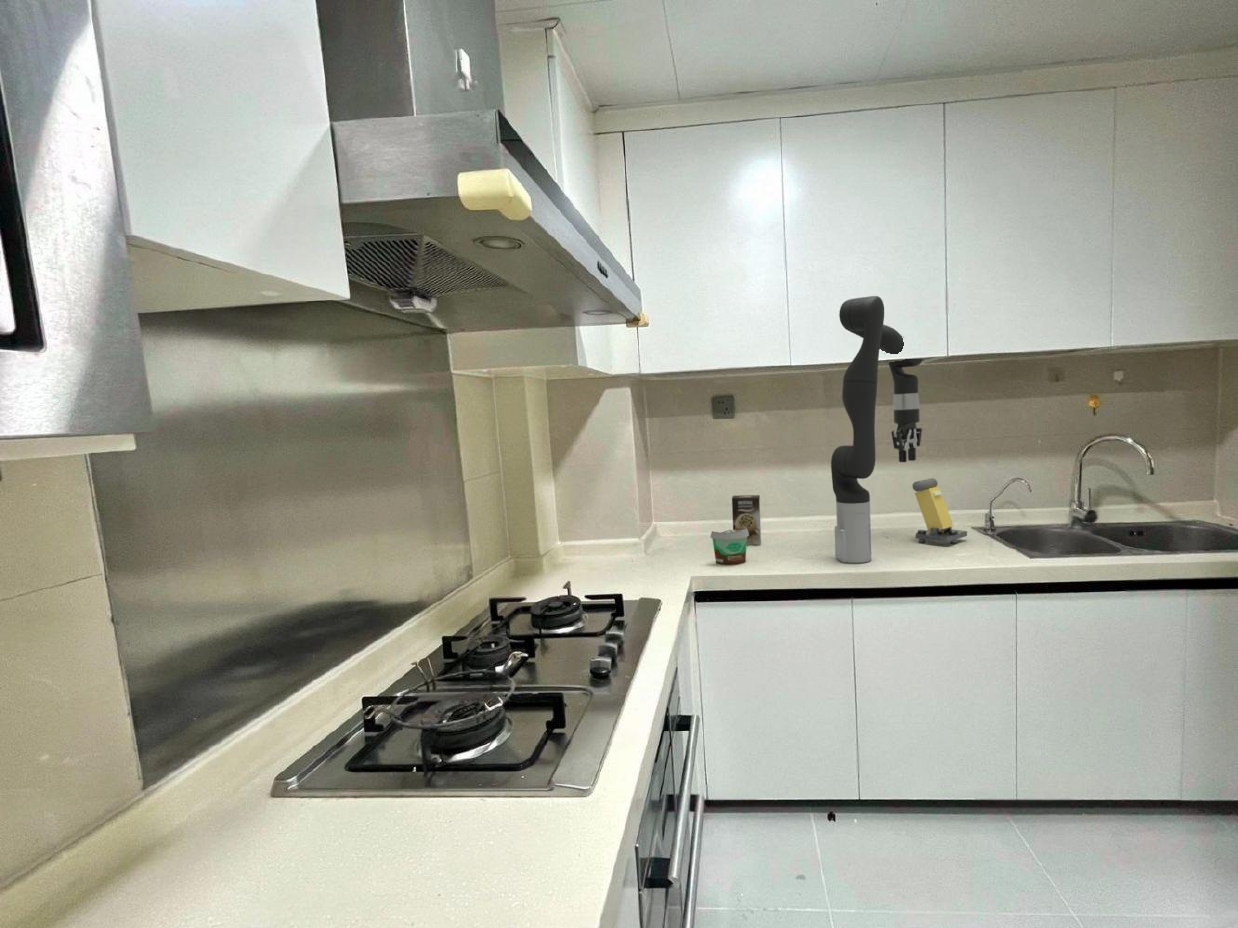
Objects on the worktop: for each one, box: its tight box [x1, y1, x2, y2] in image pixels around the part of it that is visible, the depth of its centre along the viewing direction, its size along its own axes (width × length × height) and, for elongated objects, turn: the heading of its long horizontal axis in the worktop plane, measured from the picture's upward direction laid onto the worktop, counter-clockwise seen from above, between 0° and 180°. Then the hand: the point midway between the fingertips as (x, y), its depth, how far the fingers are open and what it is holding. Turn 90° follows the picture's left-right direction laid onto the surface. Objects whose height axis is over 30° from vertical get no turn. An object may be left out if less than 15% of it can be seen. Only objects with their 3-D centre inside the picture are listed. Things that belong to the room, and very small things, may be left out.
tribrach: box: [915, 526, 968, 545], centre depth 208 cm, size 12×10×5 cm
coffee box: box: [731, 494, 762, 546], centre depth 222 cm, size 9×6×16 cm
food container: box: [710, 526, 749, 566], centre depth 197 cm, size 12×6×10 cm, turn 112°
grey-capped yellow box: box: [912, 477, 954, 532], centre depth 209 cm, size 9×6×17 cm, turn 126°
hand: (907, 461), depth 213 cm, fingers open, 4 cm apart
